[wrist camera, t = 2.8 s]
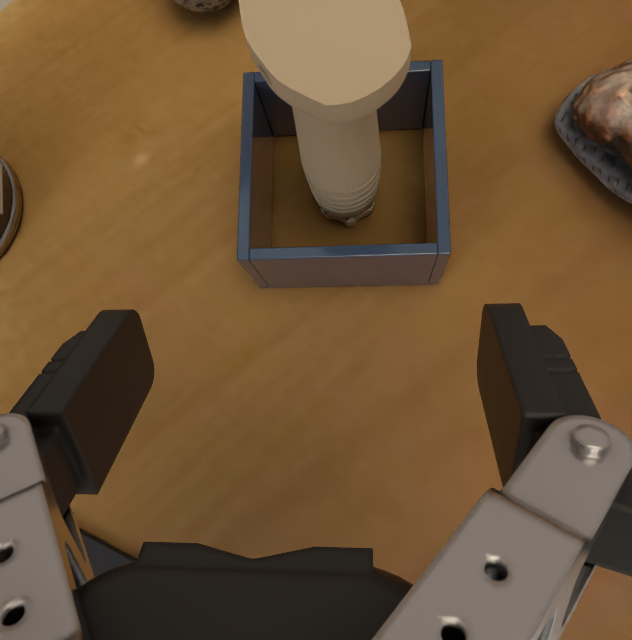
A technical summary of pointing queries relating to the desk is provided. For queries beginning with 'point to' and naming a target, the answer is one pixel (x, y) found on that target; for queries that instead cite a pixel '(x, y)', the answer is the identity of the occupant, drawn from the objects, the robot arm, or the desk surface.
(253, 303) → the desk surface
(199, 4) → the decorative egg
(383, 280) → the open box
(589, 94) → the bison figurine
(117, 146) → the desk surface
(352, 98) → the handle
